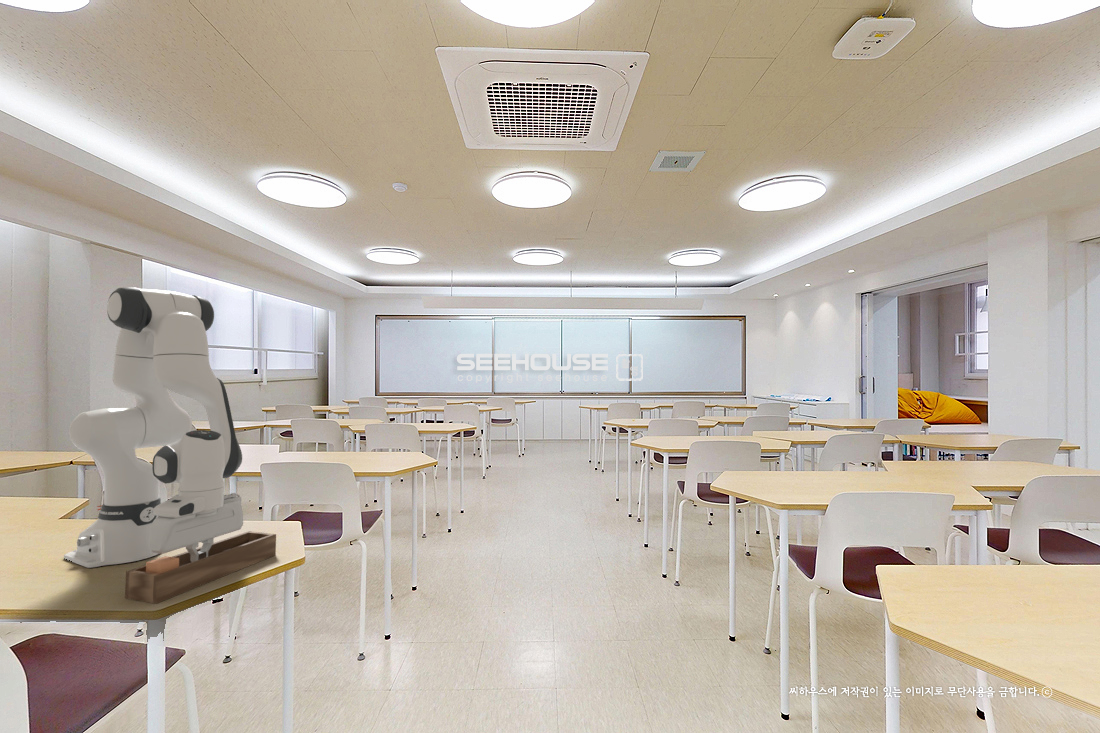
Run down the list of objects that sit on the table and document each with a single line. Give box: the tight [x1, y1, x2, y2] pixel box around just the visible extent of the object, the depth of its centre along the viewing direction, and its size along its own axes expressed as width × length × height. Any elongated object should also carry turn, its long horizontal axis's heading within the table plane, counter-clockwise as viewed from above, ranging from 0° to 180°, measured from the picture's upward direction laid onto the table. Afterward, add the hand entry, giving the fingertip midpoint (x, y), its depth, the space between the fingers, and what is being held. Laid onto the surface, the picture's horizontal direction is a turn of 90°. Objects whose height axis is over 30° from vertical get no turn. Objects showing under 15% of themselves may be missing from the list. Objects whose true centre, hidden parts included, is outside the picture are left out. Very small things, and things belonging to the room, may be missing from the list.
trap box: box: [124, 530, 277, 604], centre depth 116 cm, size 9×30×6 cm, turn 164°
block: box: [145, 555, 179, 574], centre depth 106 cm, size 4×4×4 cm
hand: (199, 560), depth 114 cm, fingers closed
